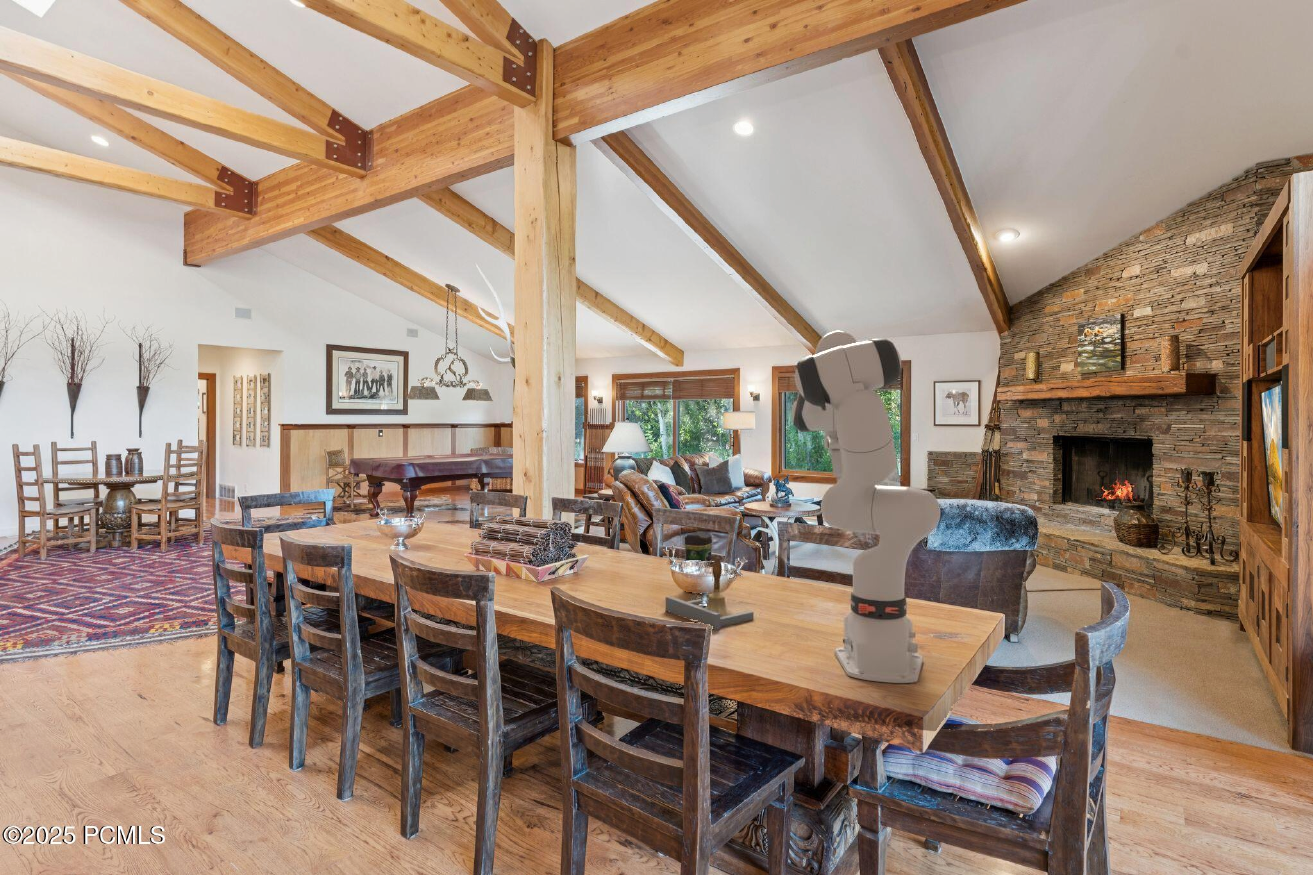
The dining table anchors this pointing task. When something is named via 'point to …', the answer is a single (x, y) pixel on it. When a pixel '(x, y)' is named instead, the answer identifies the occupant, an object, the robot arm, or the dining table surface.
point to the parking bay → (704, 613)
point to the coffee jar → (698, 546)
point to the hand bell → (717, 592)
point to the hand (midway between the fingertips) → (840, 491)
